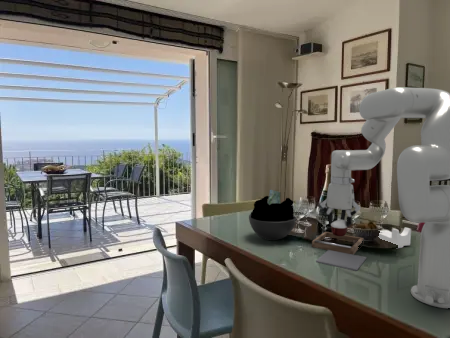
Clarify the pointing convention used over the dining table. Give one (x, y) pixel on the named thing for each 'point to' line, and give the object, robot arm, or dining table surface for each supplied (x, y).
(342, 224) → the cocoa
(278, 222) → the bowl of black rocks
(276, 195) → the pale blue faceted lump
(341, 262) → the rubber mat
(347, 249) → the tray
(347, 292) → the dining table surface
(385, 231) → the bracket
